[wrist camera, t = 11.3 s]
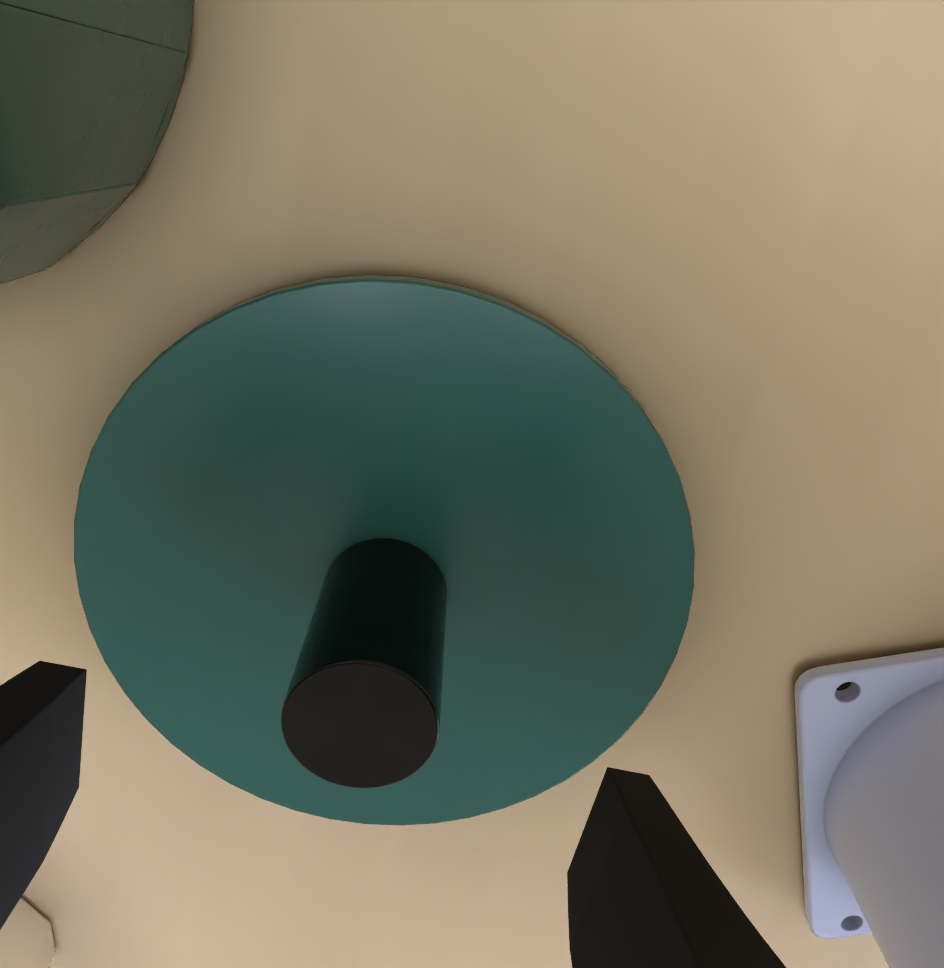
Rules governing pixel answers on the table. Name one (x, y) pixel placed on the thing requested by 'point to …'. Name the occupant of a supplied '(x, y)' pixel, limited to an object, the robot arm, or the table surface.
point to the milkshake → (26, 939)
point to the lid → (384, 550)
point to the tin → (80, 115)
